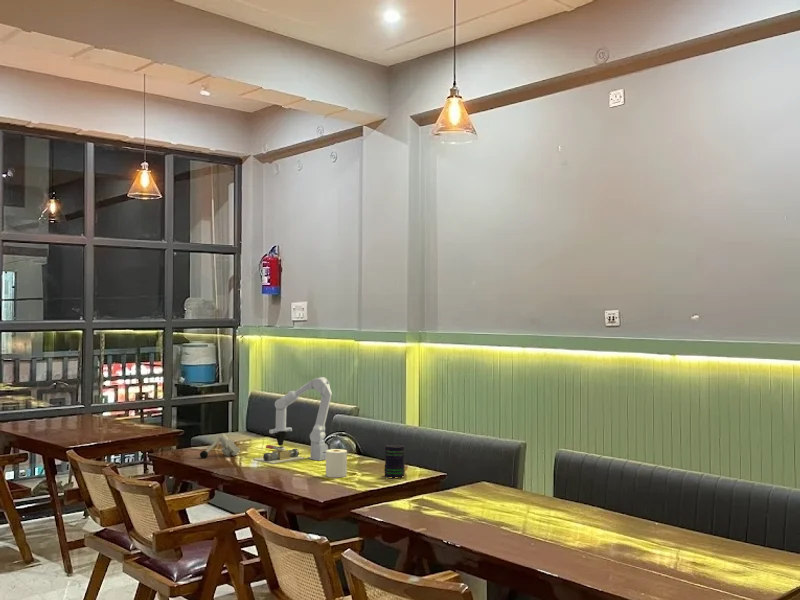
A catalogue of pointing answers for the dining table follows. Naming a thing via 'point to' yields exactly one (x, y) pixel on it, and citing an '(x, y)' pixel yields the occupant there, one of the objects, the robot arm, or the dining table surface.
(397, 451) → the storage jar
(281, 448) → the lever
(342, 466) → the toilet paper
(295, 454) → the valve body
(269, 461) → the mounting board
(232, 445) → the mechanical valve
